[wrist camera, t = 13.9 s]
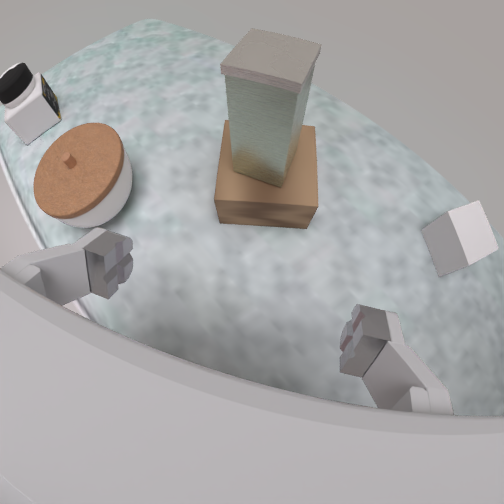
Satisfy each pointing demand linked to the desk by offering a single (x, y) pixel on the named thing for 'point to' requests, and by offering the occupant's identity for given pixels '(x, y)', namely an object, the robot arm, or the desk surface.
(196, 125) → the desk surface
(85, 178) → the lidded jar
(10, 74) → the medicine bottle
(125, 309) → the desk surface
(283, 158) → the tea tin
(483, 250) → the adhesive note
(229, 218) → the walnut block
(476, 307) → the desk surface
